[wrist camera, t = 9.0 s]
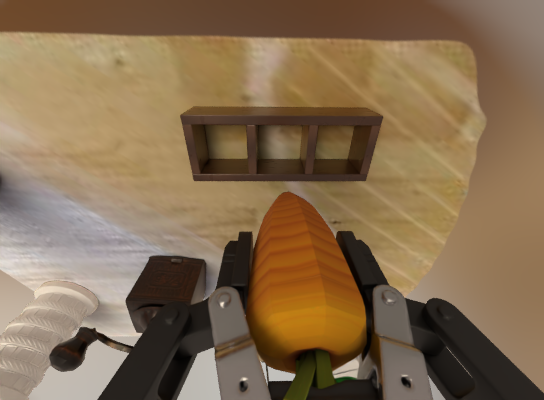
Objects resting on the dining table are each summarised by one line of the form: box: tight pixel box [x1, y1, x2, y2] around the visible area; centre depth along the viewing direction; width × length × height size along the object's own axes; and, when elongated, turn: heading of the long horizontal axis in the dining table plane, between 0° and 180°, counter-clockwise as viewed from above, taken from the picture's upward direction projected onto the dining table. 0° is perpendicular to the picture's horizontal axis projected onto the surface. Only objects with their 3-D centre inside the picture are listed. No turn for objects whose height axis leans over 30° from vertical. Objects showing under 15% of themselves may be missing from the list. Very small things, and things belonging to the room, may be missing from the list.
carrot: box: [246, 192, 367, 400], centre depth 11 cm, size 5×5×15 cm
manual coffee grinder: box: [49, 256, 206, 372], centre depth 37 cm, size 16×11×18 cm
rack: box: [180, 107, 383, 181], centre depth 28 cm, size 8×22×5 cm, turn 90°
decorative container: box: [0, 281, 99, 400], centre depth 41 cm, size 12×12×18 cm
